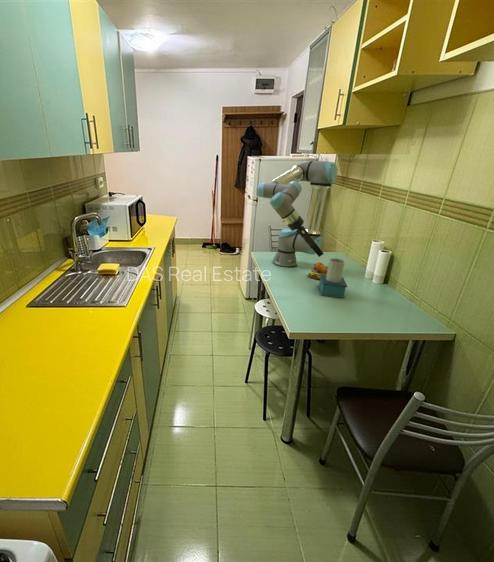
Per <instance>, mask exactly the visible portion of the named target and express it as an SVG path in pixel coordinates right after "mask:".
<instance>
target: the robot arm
mask: <svg viewBox="0 0 494 562" xmlns="http://www.w3.org/2000/svg"><path fill="white" fill-rule="evenodd" d="M337 177H338V167H337V164H336V163H335V162H334V161H328V160H327V161H325V160H306V161H302V162H299V163H296V164H295V165H293V166H291V167H290V168H289V169H288V170H287V171H286V172H285V173H282V174H280V175H279V176H277V177H275V178H274V179H272V180H271V181H269V182H260V183H259V184H258V185H257V187H256V195H257V196H258V197H259V198H264V199H269V204H270V205H271V207H272V208H273V210H274V211H275V212H276V214H278V216H279V217H280V218H281V219H282V223H285V224H286V225H287V227H288V228H284V229H281V230H280V231H279V234H278V241H277V249H276V253H275V254H274V257H273V261H272V263H273V265H276V266H279V267H284V268H293V267H296V266H297V263H298V262H297V261H298V260H297V257H296V252H300V253H304V254H307V255H308V254H309V255H317V257H318V258H320V257H321V256H323V255H324V254H325V253H324V252H323V251H322V249H321V248H322V244H323V241H324V238H323V237H322V236H321V234H322V233H321V231H320V225H321V221H322V216H323V212H324V207H325V202H326V198H327V194H328V190H329V189H331V187H332V185H333V184H335V183H336V181H337ZM299 182H308V183H309V186H310V188H311V192H310V195H309V196H310V197H309V201H308V207H307V212H306V217H305V221H304V219H303V218H302V216H301V215H300V213H299V212H298V211H297V210H296V208H295V207H294V206H293V204H294V202H295V201H296V200H297V199H298V198H299V196H300V194H301V193H302V186H301V184H300V183H299ZM303 224H304V225H303Z"/></svg>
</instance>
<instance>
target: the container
mask: <svg viewBox="0 0 494 562" xmlns="http://www.w3.org/2000/svg"><path fill="white" fill-rule="evenodd" d="M326 275H327V274H326ZM326 275H322V274H320V277H321V278H320V279H319V284H318V288H319V291H320V295H321V296H325V297H326V296H327V297H334V298H345V293H346V290H347V289H346V288H348V285H347V282H346V280H345V278H344V276H342V278H341V282H339V283H333V282H329V281H327V280H326Z"/></svg>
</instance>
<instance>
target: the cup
mask: <svg viewBox="0 0 494 562" xmlns="http://www.w3.org/2000/svg"><path fill="white" fill-rule="evenodd" d="M345 264H346V260H344V259H341V258H339V257H338V258H336V257H332V258H330V259H329V261H328V265H327V267H328V270H327V274H326V280H327V281H329V282H333V283H339V282H341V278H342V277H343V273H344V270H345V266H346V265H345Z"/></svg>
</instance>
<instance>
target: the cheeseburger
mask: <svg viewBox="0 0 494 562" xmlns="http://www.w3.org/2000/svg"><path fill="white" fill-rule="evenodd" d="M327 270H328V266H325V265H324V263H322V262H320V261H317V262H315V263H314V264H313V267H311V268H309V270H308V272H307V276H309V277H311V278H312V279H315V280H320V278H321V277H320V274H322V275H327Z"/></svg>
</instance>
